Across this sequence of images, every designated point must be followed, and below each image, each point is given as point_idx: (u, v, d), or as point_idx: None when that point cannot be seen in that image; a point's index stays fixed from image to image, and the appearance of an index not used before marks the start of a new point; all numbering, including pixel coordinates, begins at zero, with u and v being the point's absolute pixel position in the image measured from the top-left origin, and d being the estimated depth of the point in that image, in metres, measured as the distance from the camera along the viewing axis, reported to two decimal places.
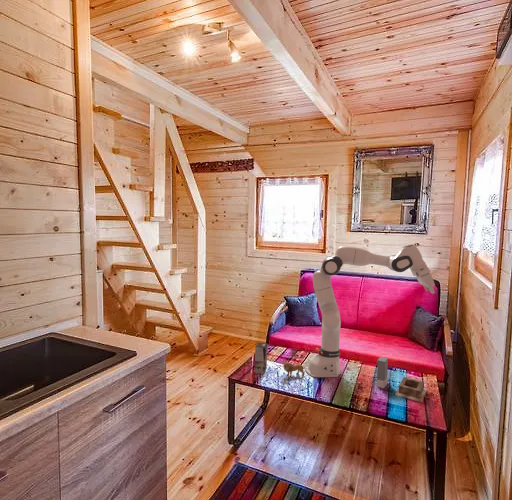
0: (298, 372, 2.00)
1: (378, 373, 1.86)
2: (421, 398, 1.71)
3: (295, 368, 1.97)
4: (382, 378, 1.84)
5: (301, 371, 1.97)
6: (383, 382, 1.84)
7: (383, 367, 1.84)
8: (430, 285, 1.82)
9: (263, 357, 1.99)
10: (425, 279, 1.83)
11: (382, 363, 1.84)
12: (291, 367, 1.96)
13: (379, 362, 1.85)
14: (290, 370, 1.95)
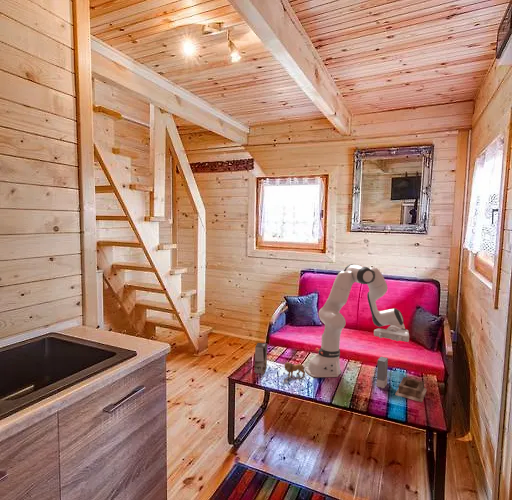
0: (299, 372, 2.00)
1: (378, 373, 1.86)
2: (421, 398, 1.71)
3: (296, 368, 1.97)
4: (382, 378, 1.84)
5: (302, 371, 1.97)
6: (383, 382, 1.84)
7: (383, 367, 1.84)
8: (408, 337, 1.96)
9: (263, 357, 1.99)
10: None
11: (382, 363, 1.84)
12: (292, 367, 1.96)
13: (379, 362, 1.85)
14: (291, 370, 1.95)
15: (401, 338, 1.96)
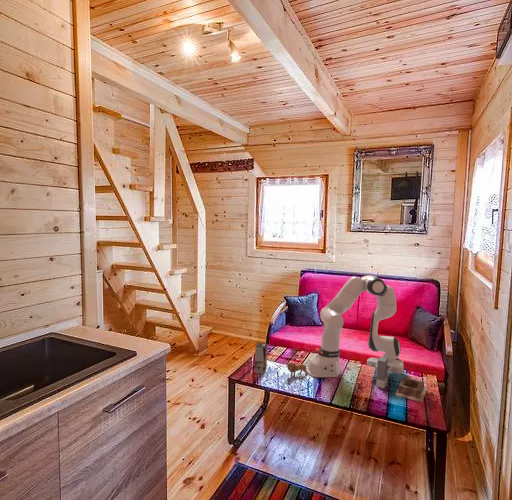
0: (301, 372, 2.00)
1: (378, 372, 1.86)
2: (421, 398, 1.71)
3: (298, 368, 1.97)
4: (382, 378, 1.84)
5: (304, 371, 1.98)
6: (383, 382, 1.84)
7: (383, 367, 1.84)
8: (403, 369, 1.86)
9: (263, 357, 1.99)
10: (403, 366, 1.90)
11: (382, 363, 1.84)
12: (295, 367, 1.96)
13: (379, 362, 1.85)
14: (294, 370, 1.95)
15: (391, 369, 1.88)
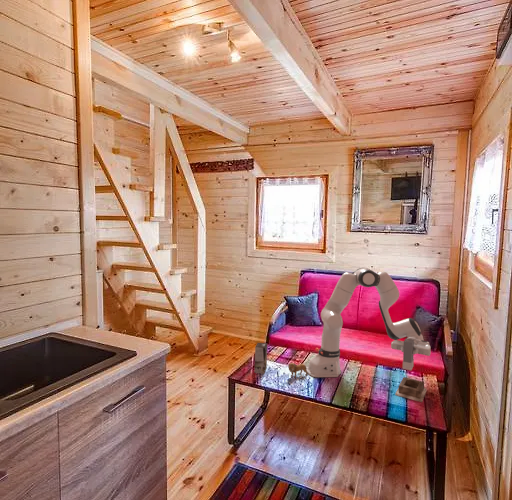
0: (301, 372, 2.00)
1: (404, 354, 1.78)
2: (421, 398, 1.71)
3: (299, 368, 1.97)
4: (409, 360, 1.77)
5: (305, 371, 1.98)
6: (410, 364, 1.76)
7: (410, 348, 1.76)
8: (430, 351, 1.78)
9: (263, 357, 1.99)
10: None
11: (409, 344, 1.76)
12: (296, 367, 1.95)
13: (405, 343, 1.77)
14: (295, 370, 1.95)
15: (418, 351, 1.80)
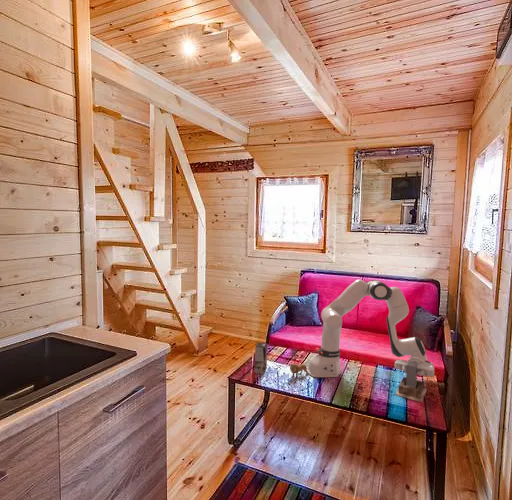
0: (301, 372, 2.00)
1: (407, 378, 1.77)
2: (421, 398, 1.71)
3: (300, 368, 1.96)
4: (412, 384, 1.76)
5: (305, 371, 1.98)
6: None
7: (413, 372, 1.75)
8: None
9: (263, 357, 1.99)
10: None
11: (412, 368, 1.76)
12: (297, 368, 1.95)
13: (409, 367, 1.76)
14: (296, 371, 1.94)
15: (424, 372, 1.78)
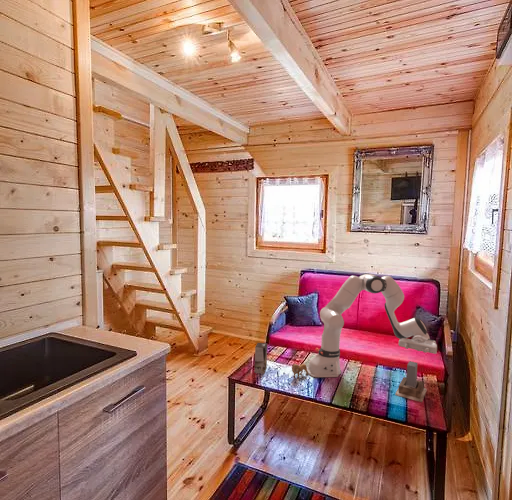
0: (302, 372, 2.00)
1: (407, 378, 1.77)
2: (421, 398, 1.71)
3: (301, 368, 1.96)
4: (412, 384, 1.76)
5: (306, 370, 1.98)
6: None
7: (413, 372, 1.75)
8: (436, 349, 1.85)
9: (263, 357, 1.99)
10: (436, 346, 1.88)
11: (412, 368, 1.75)
12: (299, 368, 1.94)
13: (409, 367, 1.76)
14: (298, 371, 1.93)
15: (429, 349, 1.85)
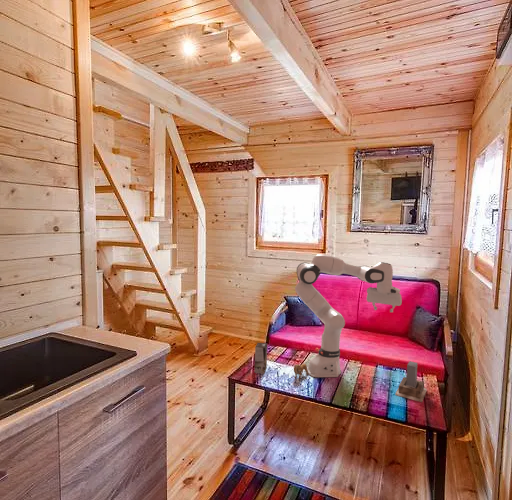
0: (302, 372, 2.00)
1: (407, 378, 1.77)
2: (421, 398, 1.71)
3: (302, 368, 1.96)
4: (412, 384, 1.76)
5: (307, 370, 1.99)
6: None
7: (413, 372, 1.75)
8: None
9: (263, 357, 1.99)
10: (400, 297, 1.95)
11: (412, 368, 1.75)
12: (300, 368, 1.94)
13: (409, 367, 1.76)
14: (300, 372, 1.93)
15: (394, 306, 1.99)
